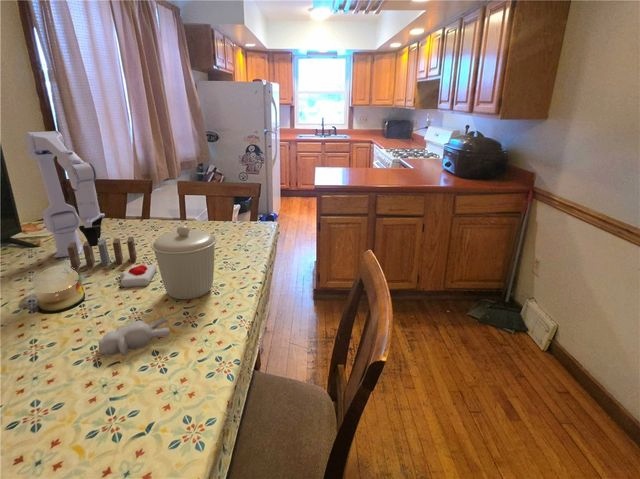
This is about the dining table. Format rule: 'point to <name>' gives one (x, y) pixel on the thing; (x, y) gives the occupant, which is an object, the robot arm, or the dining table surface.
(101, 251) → the loose domino
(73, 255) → the domino
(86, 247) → the domino
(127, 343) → the bunny figurine
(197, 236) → the canister
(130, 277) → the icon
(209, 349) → the dining table surface
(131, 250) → the domino
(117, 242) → the domino
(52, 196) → the robot arm
